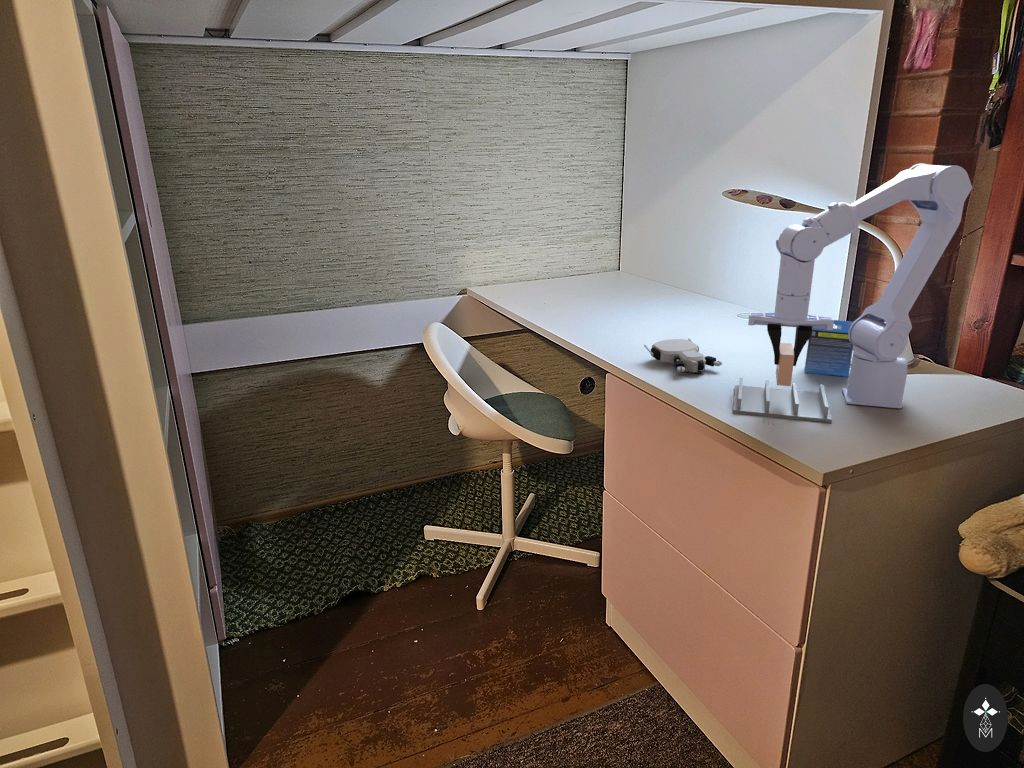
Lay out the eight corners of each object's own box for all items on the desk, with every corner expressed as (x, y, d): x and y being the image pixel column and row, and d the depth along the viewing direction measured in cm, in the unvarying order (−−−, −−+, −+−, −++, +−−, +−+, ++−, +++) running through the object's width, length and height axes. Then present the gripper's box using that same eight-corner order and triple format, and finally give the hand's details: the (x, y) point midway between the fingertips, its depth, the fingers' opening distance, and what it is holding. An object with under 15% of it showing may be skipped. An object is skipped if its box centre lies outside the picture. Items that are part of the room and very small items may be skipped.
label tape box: (848, 372, 149) (857, 317, 145) (848, 378, 146) (857, 321, 142) (804, 367, 153) (811, 313, 149) (803, 373, 149) (811, 318, 145)
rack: (824, 395, 137) (826, 383, 136) (831, 422, 124) (833, 409, 123) (735, 387, 142) (736, 375, 141) (732, 412, 129) (734, 400, 128)
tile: (788, 373, 134) (792, 343, 132) (790, 386, 127) (794, 355, 125) (775, 372, 135) (779, 342, 133) (776, 385, 128) (780, 354, 126)
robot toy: (724, 375, 152) (685, 352, 164) (727, 356, 150) (688, 334, 163) (676, 383, 148) (640, 359, 161) (678, 364, 146) (642, 341, 159)
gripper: (834, 290, 127) (824, 360, 131) (751, 286, 131) (744, 354, 136) (838, 298, 121) (828, 372, 125) (751, 294, 125) (744, 365, 130)
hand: (784, 363), depth 130 cm, fingers closed on tile, 2 cm apart
